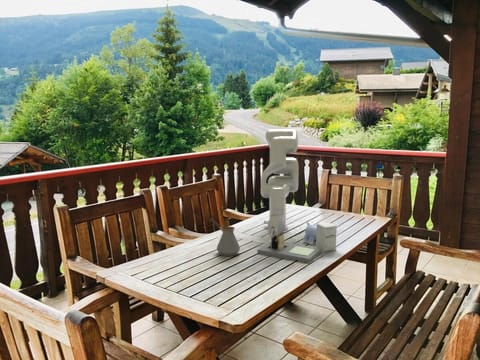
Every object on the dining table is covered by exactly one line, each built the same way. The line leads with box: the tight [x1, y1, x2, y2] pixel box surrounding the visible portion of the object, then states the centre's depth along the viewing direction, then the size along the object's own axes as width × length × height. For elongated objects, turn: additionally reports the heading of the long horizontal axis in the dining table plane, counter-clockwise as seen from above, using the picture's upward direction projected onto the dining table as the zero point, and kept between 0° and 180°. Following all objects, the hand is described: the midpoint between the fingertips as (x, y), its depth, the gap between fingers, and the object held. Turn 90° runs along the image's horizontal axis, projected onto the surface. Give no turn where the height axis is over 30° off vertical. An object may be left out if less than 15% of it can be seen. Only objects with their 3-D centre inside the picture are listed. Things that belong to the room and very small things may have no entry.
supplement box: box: [315, 222, 338, 252], centre depth 208 cm, size 7×7×13 cm
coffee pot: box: [210, 217, 241, 257], centre depth 207 cm, size 21×12×15 cm, turn 36°
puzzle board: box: [256, 240, 322, 264], centre depth 203 cm, size 27×16×2 cm, turn 60°
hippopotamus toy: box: [302, 221, 317, 245], centre depth 220 cm, size 11×15×10 cm
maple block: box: [270, 233, 285, 251], centre depth 206 cm, size 5×5×8 cm
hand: (277, 246), depth 206 cm, fingers closed on maple block, 5 cm apart
